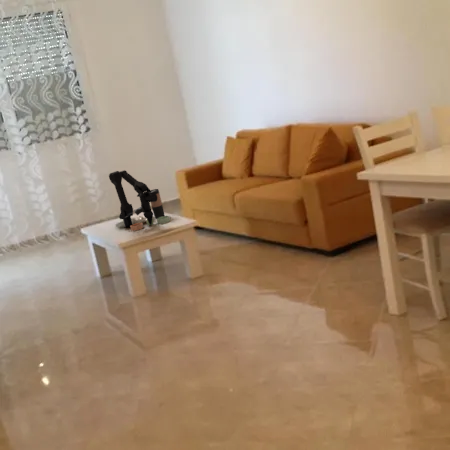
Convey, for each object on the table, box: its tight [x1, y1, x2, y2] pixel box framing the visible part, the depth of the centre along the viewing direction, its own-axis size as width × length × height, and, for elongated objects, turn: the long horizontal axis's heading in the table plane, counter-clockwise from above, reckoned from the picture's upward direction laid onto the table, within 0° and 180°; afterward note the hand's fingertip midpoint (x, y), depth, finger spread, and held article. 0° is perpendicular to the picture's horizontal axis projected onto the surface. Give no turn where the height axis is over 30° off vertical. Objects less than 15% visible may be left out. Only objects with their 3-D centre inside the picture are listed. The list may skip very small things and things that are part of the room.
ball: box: [145, 218, 155, 226], centre depth 482 cm, size 5×5×5 cm
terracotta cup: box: [129, 222, 145, 232], centre depth 481 cm, size 8×8×3 cm
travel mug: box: [150, 188, 166, 220], centre depth 499 cm, size 8×8×20 cm
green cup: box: [156, 215, 171, 225], centre depth 484 cm, size 8×8×3 cm
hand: (150, 223), depth 482 cm, fingers closed on ball, 5 cm apart
